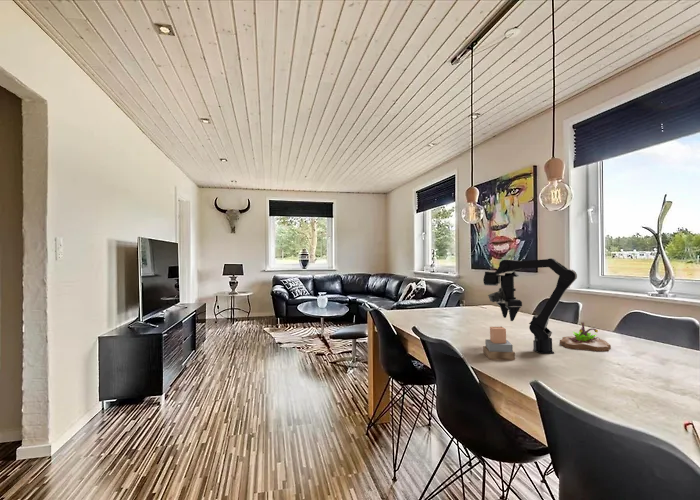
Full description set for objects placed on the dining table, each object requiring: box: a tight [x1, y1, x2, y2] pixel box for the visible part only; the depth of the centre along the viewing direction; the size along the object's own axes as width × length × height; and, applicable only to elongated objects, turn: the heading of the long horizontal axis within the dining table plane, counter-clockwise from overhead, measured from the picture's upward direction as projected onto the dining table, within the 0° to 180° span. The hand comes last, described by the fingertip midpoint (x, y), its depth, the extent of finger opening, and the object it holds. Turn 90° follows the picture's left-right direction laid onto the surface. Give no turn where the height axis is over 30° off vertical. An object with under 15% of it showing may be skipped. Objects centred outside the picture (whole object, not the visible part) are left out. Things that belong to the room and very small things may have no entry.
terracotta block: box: [489, 326, 507, 343], centre depth 152 cm, size 5×5×6 cm
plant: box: [559, 321, 612, 352], centre depth 168 cm, size 20×20×11 cm
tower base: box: [482, 345, 516, 361], centre depth 151 cm, size 10×10×4 cm
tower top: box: [484, 338, 514, 352], centre depth 151 cm, size 9×9×3 cm
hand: (508, 319), depth 167 cm, fingers open, 9 cm apart
